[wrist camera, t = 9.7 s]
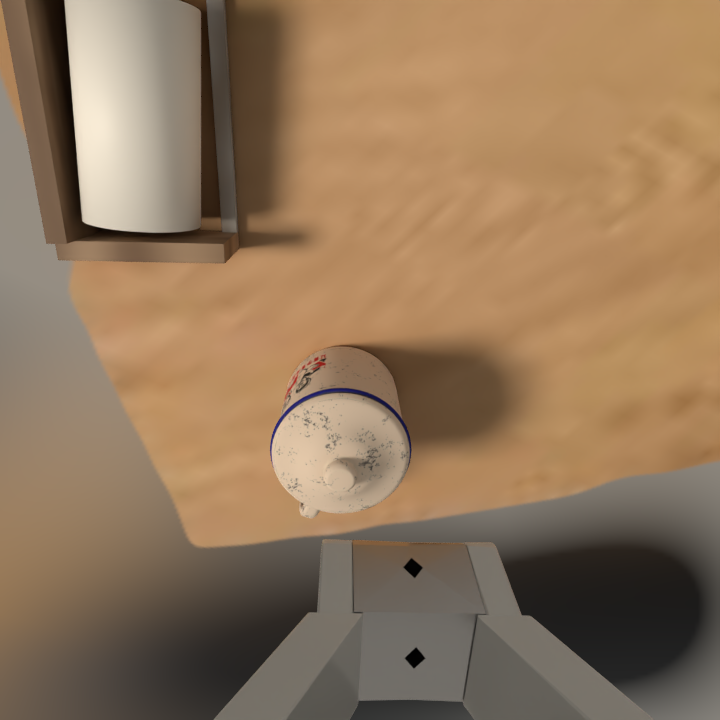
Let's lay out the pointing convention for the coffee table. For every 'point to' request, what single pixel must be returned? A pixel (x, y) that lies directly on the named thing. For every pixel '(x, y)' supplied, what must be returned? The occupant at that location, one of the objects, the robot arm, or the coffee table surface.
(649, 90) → the coffee table surface
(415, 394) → the coffee table surface
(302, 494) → the teacup with lid
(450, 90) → the coffee table surface
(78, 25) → the roll
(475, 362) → the coffee table surface
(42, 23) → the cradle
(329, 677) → the robot arm
